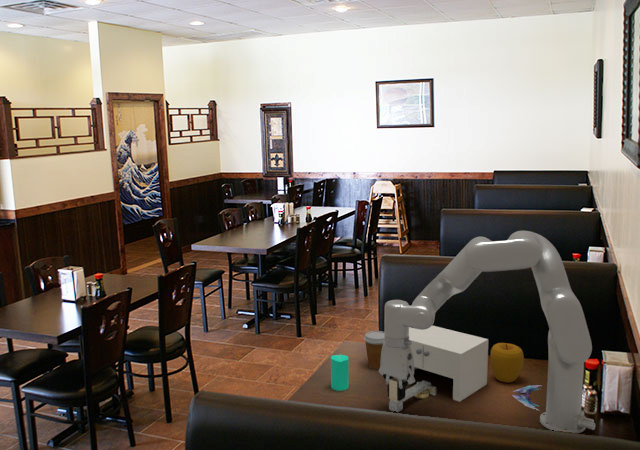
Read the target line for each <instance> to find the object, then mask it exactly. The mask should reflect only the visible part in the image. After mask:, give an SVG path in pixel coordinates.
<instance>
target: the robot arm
mask: <svg viewBox="0 0 640 450" xmlns="http://www.w3.org/2000/svg"><path fill="white" fill-rule="evenodd" d="M529 268H531V271H532V273H533V277H534V280H535V284H536V287H537V291H538V294H539V299H540V305H541V309H542V311H543V313H544V316H545V318H546V321H547V325H548V328H549V330H548V335H547V345H548V347H547V348H548V351H547V352H548V359H547V361H548V364H547V378H546V379H547V381H546V398H545V399H546V400H545V401H546V402H545V411H544V412H542V413H541V414H540V416H539V422H540V423H541V425H542V426H543V427H545V428H546V429H548V430H550V431H552V430H554V431H553V432H555V431H563V432H572V433H577V434H580V433H582V432H584V431H585V430H586V429H588V430H592V431H594V430H595V429H596V423H595V420H594V419H593V418H588V417H586V416H585V411H584V410H582V402H583V401H582V400H583V399H582V397H583V384H584V383H583V381H584V371H585V369H584V368H585V365H584V364H585V362H586V361H587V360H589V358H590V357H591V354H592V351H593V345H592V338H591V336H590V335H591V334H590V332H589V328H588V325H587V320H586V317H585V313H584V310H583V307H582V305H581V303H580V300H579V299H578V298H577V296H576V295H575V293H574V292H573V290H572V288H571V285H570V281H569V278H568V275H567V272H566V269H565V266H564V263H563V260H562V257H561V256H560V253H559V252H558V250H557V248H556V247H555V246H554V244H553V243H551V242H550V241H549V240H548V239H547V238H546V237H544V236H543V235H541V234H539V233H536V232H534V231H530V230H517V231H515V232H513V233H511V235H509V237H508V238H507V240H505V239H504V240H494V241H493V240H491V239H490V238H487V237H485V236H477V237H476V236H475V237H474V238H472V239H471V240H469V242H468V243H467V244H466V245H465V246H464V247H463V248H462V249H461V250H460V251H459V252H458V254H457V255H456V256H455V257H454V258H452V260H451V261H450V262H449V263H448V265H447V266H445V268H444V269H442V271H441V272H439V274H437V275H436V277H435V278H433V279H432V280H431V281H430V282H429V283H428V284H427V285H426V286H425V287H424V289H423V290H422V291H421V292H420V293H419V294H418V295H417V296H416V297H415V299H414V300H413V301H412V304H411V305H409V303H408V301H406V300H402V299H392V300H388V301H386V302H385V303H384V316H383V317H384V319H383V320H384V328H383V329H384V331H383V332H384V343H383V346H382V351H381V362H380V369H378V373H379V374H380V375H381V376H382V377H383V379H384V380H385V384H386V385H387V391H386V392H387V398H389V379H391V378H393V377H395V378H398V380H399V388H398V400H399V401H400V400H402V399H404V398H405V390H406V387H408V385H412V384H414V383H415V382H416V379H415V377H414V375H415V370H414V358H413V351H412V347H411V346H410V345H411V344H412V341H410V340H409V327H411V328H415V329H420V330H424V329H428V328H430V327H431V326H434V325H433V324H434V322H435V319H436V318H435V317H436V313H437V311H438V310H439V309H440V308H441V307H442V306H443V305H444V304H445V303H446V302H447V300H449V299H450V298H451V297H452V296H455V295H457V294H459V293H463V292H464V291H465V290H467V288H469V286H471V284H472V283H473V282H474V280H476V279H477V278H478V277H479V275H481V273H482V272H483V273H489V272H492V273H493V272H502V271H504V272H505V271H512V270H513V271H514V270H515V271H516V270H525V269H529Z"/></svg>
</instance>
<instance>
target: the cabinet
mask: <svg viewBox="0 0 640 450" xmlns="http://www.w3.org/2000/svg"><path fill="white" fill-rule="evenodd" d="M409 340H410V341H412V344H411V345H410V346H411V347H412V351H413V358H414V371H415V370H417V369H420V370H423V371H426V372H430V373H433V374H436V375H439V376H443V377H447V378H450V379H451V380H452V379H453V380H452V381H453V382H452V383H453V385H452V400H453V401H456V402H459V403H460V402H462V401H463V400H465V399H467V398H468V397H469V396H472V395H473V394H474V393H476V392H477V391H478V390H480V389H482V388H484V387H485V386H487V384H488V361H489V338H484V337H481V336H477V335H473V334H468V333H464V332H459V331H455V330H452V329H447V328H444V327H441V326H436V325H432V326H431V327H430V328H428V329H424V330H420V329H415V328H411V327H409Z"/></svg>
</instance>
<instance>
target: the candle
mask: <svg viewBox="0 0 640 450" xmlns="http://www.w3.org/2000/svg"><path fill="white" fill-rule="evenodd" d="M349 358H350V357H349V356H348V355H345V354H341V353H339V354H335V355H334V354H333V355H331V357H330V381H331V382H330V388H331V389H332V390H334V391H340V392H341V391H342V392H343V391H346V390H348V389H349V387H350V386H349V385H350V382H349V381H350V379H349V378H350V377H349V376H350V375H349V373H350V370H349V368H350V367H349V363H350V361H349V360H350V359H349Z"/></svg>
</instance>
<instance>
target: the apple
mask: <svg viewBox="0 0 640 450" xmlns="http://www.w3.org/2000/svg"><path fill="white" fill-rule="evenodd" d="M524 356H525V355H524V351H523V349H522V348H521V347H520V346H518V345H516V344H513V343H508V342H507V343H506V342H498V343H495V344H493V346H492V347H491V348H490V364H491V369H492V372H493V376H494V377H495V379H496V380H497V381H499V382H502V383H513V382H514V381H517V379H518V377H519V375H520V373H521V372H522V369H523V366H524V362H525V361H524V360H525V359H524V358H525V357H524Z"/></svg>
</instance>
